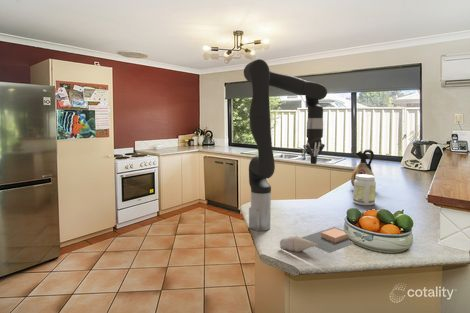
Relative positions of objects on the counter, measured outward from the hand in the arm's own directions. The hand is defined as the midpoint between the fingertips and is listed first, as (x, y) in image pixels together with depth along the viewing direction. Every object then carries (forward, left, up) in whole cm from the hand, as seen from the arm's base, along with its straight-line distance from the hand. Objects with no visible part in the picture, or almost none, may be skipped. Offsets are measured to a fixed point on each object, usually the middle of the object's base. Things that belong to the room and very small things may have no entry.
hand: (313, 163), depth 141 cm
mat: (-10, -20, -29) cm, 37 cm away
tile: (-13, -20, -27) cm, 36 cm away
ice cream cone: (-30, -20, -29) cm, 46 cm away
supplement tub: (+52, +5, -29) cm, 60 cm away
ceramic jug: (+80, +23, -29) cm, 88 cm away
